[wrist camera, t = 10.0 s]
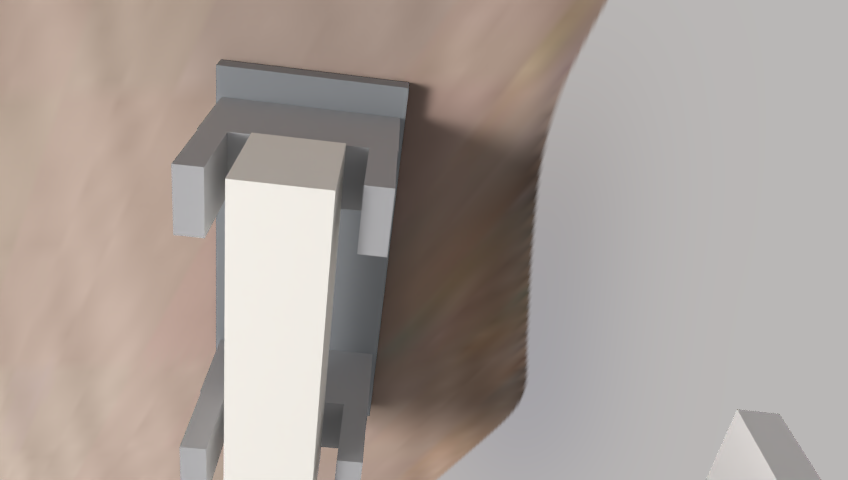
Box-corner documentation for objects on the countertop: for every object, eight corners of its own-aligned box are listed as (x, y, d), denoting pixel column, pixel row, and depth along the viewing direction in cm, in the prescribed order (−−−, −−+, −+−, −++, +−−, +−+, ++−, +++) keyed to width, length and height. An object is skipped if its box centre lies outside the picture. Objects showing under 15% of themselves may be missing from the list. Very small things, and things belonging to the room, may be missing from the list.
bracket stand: (221, 59, 36) (161, 124, 27) (408, 82, 36) (407, 152, 28) (220, 391, 45) (175, 516, 37) (370, 404, 46) (360, 531, 37)
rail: (251, 132, 32) (225, 178, 27) (346, 143, 32) (335, 190, 28) (244, 453, 40) (223, 528, 36) (320, 459, 40) (308, 535, 36)
